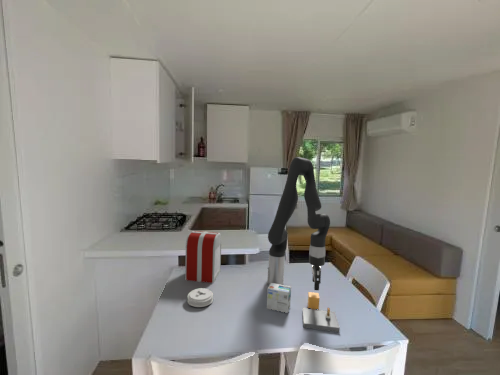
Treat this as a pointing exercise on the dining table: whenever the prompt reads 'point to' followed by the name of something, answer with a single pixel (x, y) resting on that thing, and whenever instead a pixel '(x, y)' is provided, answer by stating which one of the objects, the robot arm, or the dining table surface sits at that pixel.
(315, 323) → the plate
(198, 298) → the lid
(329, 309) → the pigtail
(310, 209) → the robot arm
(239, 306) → the dining table surface
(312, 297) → the orange block
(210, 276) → the red striped box
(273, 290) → the light bulb box
